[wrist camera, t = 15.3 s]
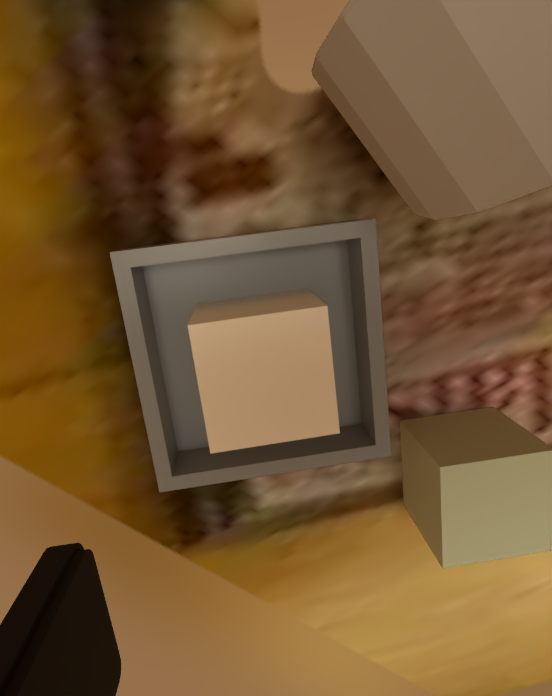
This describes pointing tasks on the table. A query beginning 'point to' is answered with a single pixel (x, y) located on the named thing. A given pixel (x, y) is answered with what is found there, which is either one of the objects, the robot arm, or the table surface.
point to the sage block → (477, 486)
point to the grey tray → (245, 280)
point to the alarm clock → (447, 97)
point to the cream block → (264, 369)
